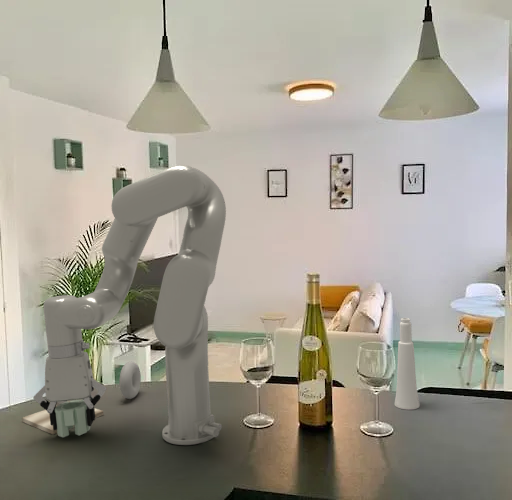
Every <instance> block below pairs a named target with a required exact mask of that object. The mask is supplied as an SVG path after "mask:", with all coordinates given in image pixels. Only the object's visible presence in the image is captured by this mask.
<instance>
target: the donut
mask: <svg viewBox="0 0 512 500" xmlns="http://www.w3.org/2000/svg"><path fill="white" fill-rule="evenodd" d="M141 382H142V376H141V370H140V366H139V365H138V364H137V363H136V362H134V361H128V362H125V364H124V365H122V368H121V370H120V374H119V391H120V393H121V395H122V397H124V398H125V399H128V400H130V399H134V398H135V397H136V396H137V395H138V393H139V391H140V388H141Z"/></svg>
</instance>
